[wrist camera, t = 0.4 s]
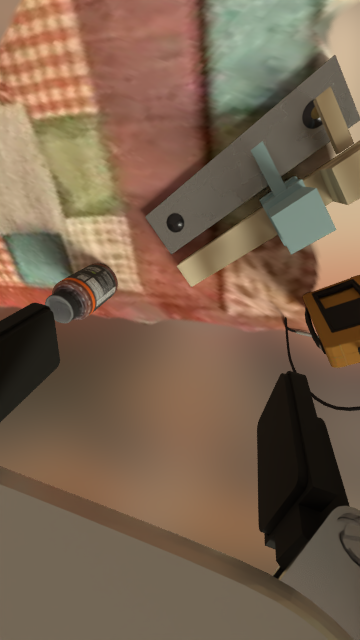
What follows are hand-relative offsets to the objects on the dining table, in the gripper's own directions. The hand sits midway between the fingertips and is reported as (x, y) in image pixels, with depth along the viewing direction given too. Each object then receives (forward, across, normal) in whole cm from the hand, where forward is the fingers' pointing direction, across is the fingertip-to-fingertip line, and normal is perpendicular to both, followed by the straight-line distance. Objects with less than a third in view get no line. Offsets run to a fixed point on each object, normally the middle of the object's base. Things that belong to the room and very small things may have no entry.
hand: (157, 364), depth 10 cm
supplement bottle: (+28, +18, +11) cm, 35 cm away
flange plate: (+28, 0, -7) cm, 29 cm away
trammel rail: (+28, -2, -4) cm, 28 cm away
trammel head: (+27, -5, -6) cm, 28 cm away
